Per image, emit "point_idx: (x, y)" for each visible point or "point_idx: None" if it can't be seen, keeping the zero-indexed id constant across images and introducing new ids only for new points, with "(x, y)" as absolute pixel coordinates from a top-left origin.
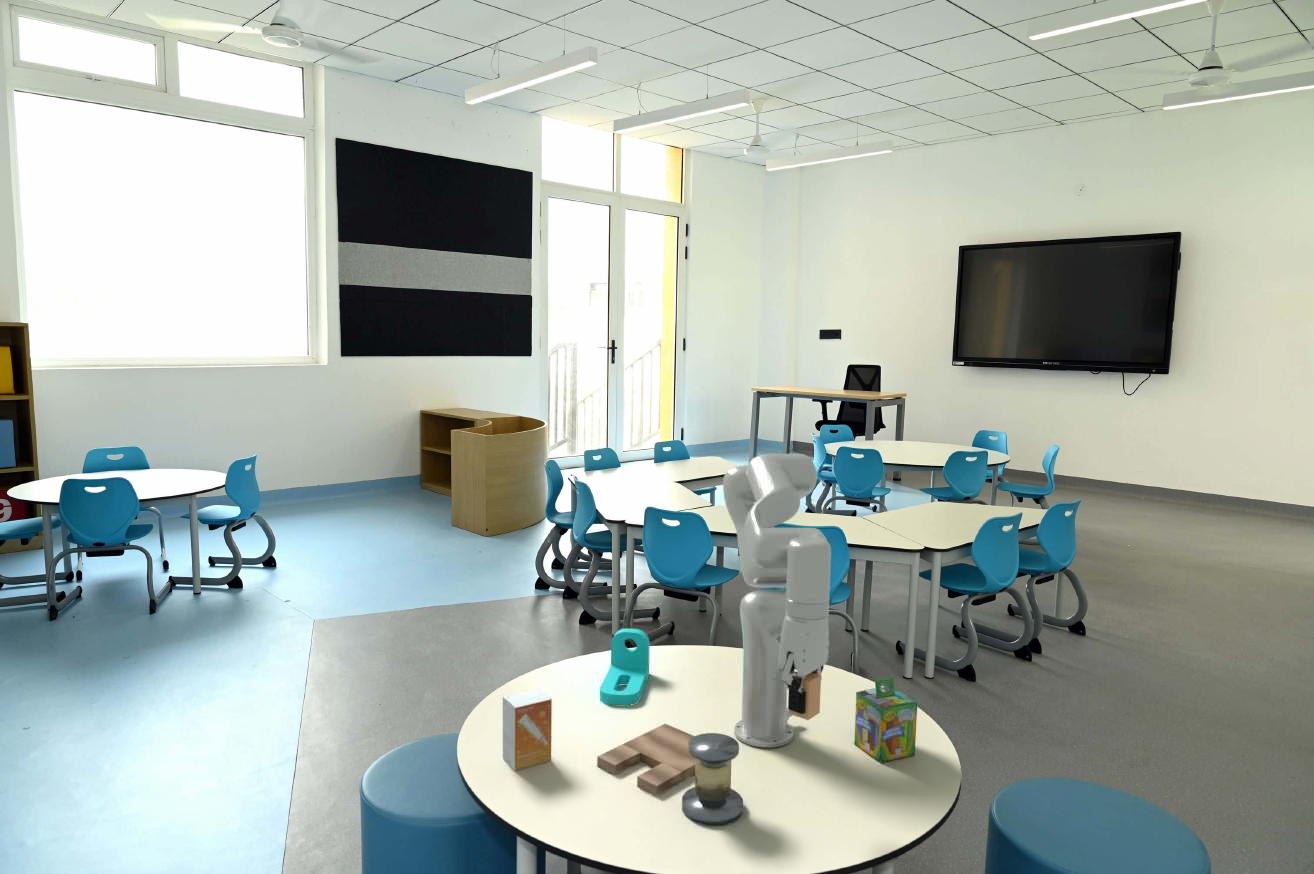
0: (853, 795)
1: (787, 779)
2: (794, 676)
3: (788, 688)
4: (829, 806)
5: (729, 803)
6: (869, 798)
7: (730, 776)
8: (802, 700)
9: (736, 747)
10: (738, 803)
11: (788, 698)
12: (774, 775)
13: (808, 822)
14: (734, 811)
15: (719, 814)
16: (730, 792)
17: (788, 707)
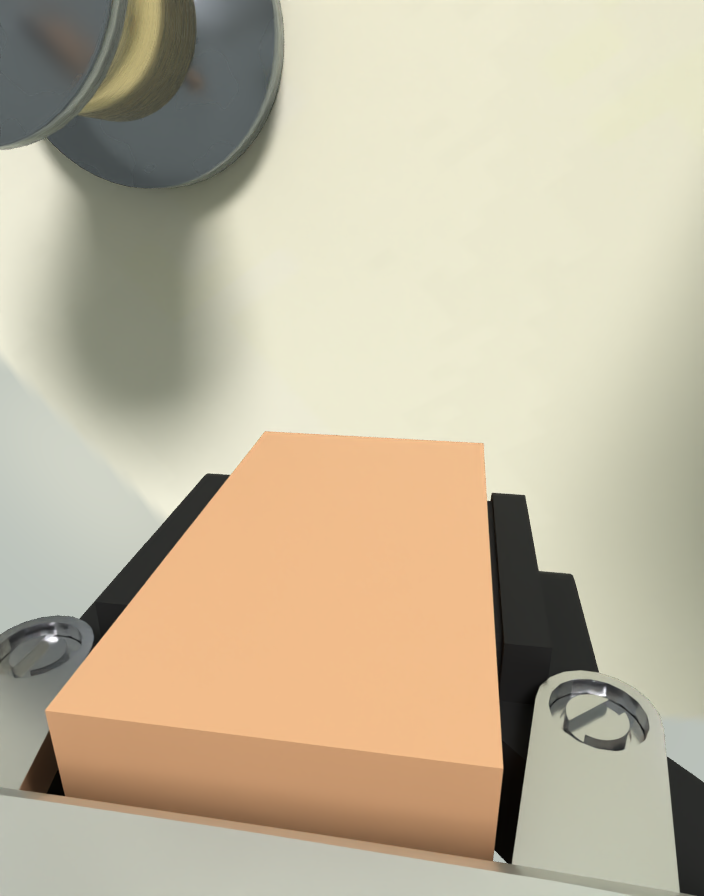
0: (638, 458)
1: (597, 162)
2: (88, 780)
3: (22, 640)
4: (497, 420)
5: (170, 115)
6: (652, 513)
7: (103, 105)
8: None
9: (31, 108)
10: (201, 147)
11: (165, 521)
12: (596, 84)
13: (344, 409)
14: (142, 175)
15: (78, 138)
16: (155, 109)
17: (208, 476)
